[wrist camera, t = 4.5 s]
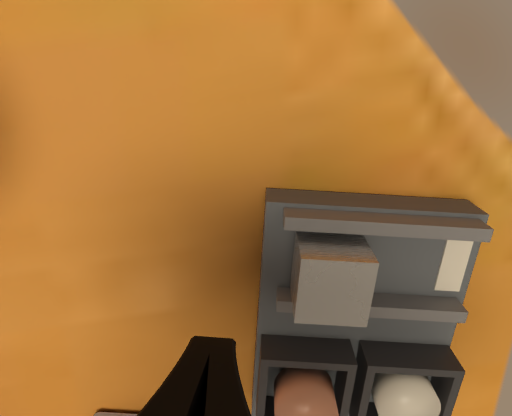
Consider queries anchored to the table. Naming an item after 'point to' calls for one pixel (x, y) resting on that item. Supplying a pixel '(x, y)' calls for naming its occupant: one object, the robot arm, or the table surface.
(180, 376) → the robot arm
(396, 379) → the cream button
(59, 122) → the table surface
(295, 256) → the slider knob
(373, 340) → the control panel
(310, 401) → the terracotta button
